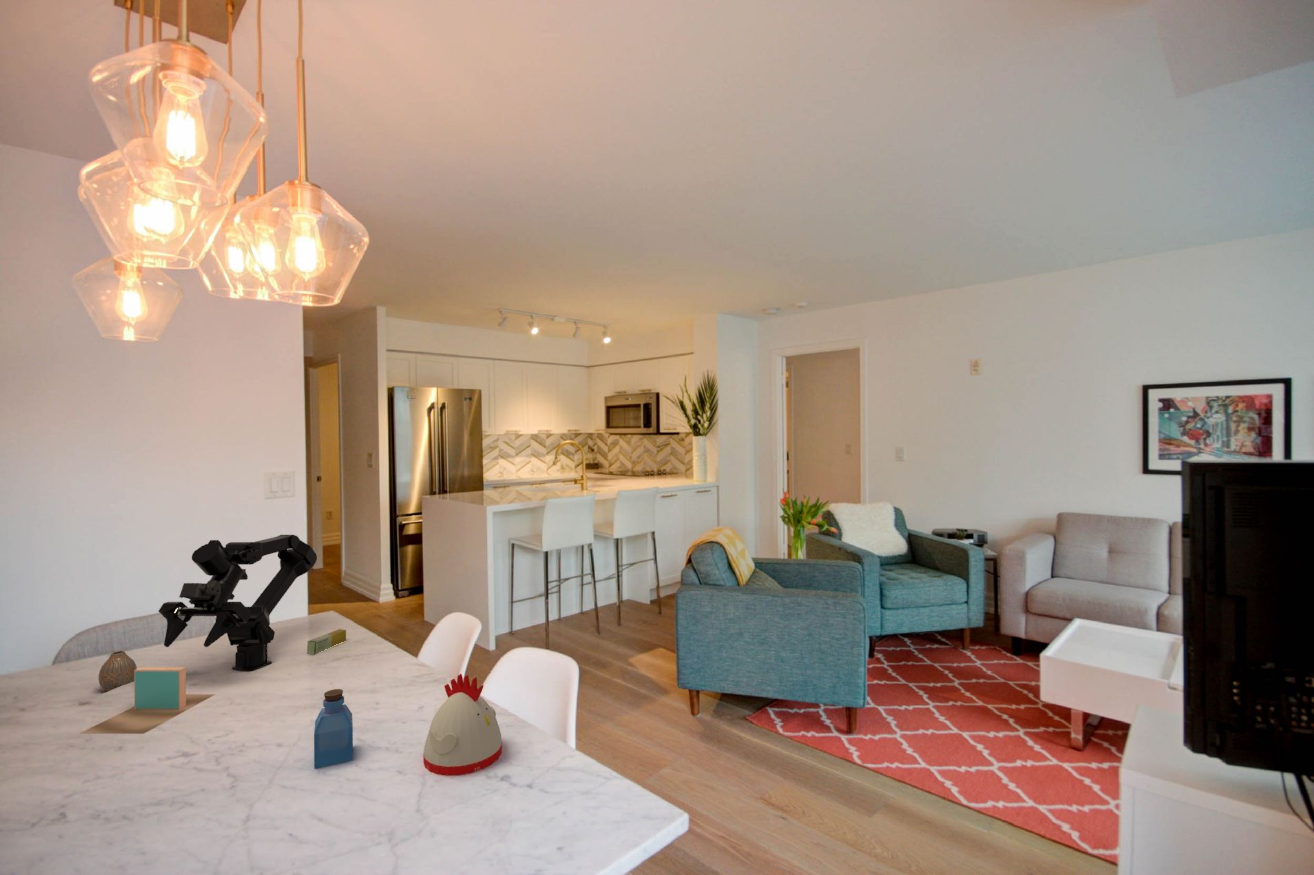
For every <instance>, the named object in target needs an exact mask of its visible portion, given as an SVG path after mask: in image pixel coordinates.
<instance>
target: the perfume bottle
mask: <svg viewBox="0 0 1314 875" xmlns="http://www.w3.org/2000/svg"><path fill="white" fill-rule="evenodd" d="M343 693H344V690H343V689H341V688H334V689H330V690H327V691H325V692H324V693H323V697H324V699H323V702H322V706H323V708H321V709H320V711H319V713H318V714H317V717H316V719H315V722H314V729H313V731H314V732H313V756H314V757H313V760H314V761H313V769H314V770H317V769H321V768H326V767H330V766H335V765H340V764H345V763H349V762H354V761H353V760H354V742H353V740H354V738H353V736H354V735H353V734H354V731H353V730H354V729H353V728H354V727H353V726H354V725H353V724H354V723H353V713H352V712H351V710H350V708H349V707H348V706H347V704H346V703H345V696H344V695H343ZM344 703H345V704H344Z"/></svg>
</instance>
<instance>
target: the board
mask: <svg viewBox="0 0 1314 875" xmlns="http://www.w3.org/2000/svg"><path fill="white" fill-rule="evenodd" d="M215 695H216V694H214V693H213V694H211V693H210V694H209V693H208V694H207V693H206V694H205V693H202V694H201V693H200V694H199V693H197V694H196V693H194V694H193V693H192V694H190V693H186V707H184V708H182V709H181V710H134V706H133V707H131V708H128V709H126V710H124V711H123V712H121V713H118V714H116V715H114V716H112V717H110V718H108V719H106V720H104V721H102V722H99V723H98V724H96V725H93V726H91V727H89V728H88V729H86V730H83V731H81V732H80V734H105V735H106V734H107V735H108V734H112V735H113V734H116V735H117V734H119V735H121V734H122V735H123V734H124V735H125V734H131V735H132V734H133V735H134V734H135V735H136V734H138V735H140V734H141V735H142V734H147V733H148V732H149V731H151V730H153V729H155V728H157V727H159V726H160V725H162V724H165V723H166V722H168V721H169V720H172V719H173V718H175V717H178V716H179V715H181V714H183V713H184V712H186V711H188V710H189V709H191V708H194V707H195V706H197V705H199V704H201V703H202V702H204V701H206V700H207V699H210V698H212V697H213V696H215Z"/></svg>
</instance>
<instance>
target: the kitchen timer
mask: <svg viewBox="0 0 1314 875" xmlns="http://www.w3.org/2000/svg"><path fill="white" fill-rule="evenodd" d="M483 689H484V684H482V685H480V686H479V687H478V678H477V676H475V677H474V678H472V680H471V682H470V677H469V674H467V675H465V676H464V677H463V675H462V673H460V674H458V675H457V677H456V679H455V678H453V679H451V680H450V684H449V683H447V684H444V690H445V692H446V695H447V699H446V700H445V701H444V702H443V703H441V705H440V706H439V708H438V710H437V711H436V713H435V714H434V716H433V718H432V720H431V723H430V726H429V730H428V733H427V735H426V738H425V743H424V746H423V747H424V748H423V755H422V757H423V766H424V768H425V769H426V770H427V771H428V772H430V773H431V774H434V775H437V776H438V775H439V776H445V777H447V776H448V777H449V776H450V777H451V776H462V775H463V776H464V775H468V774H473V773H475V772H478V771H482V770H484V769H485V768H489V767H490V766H491V765H493V764H494V763H495V762H496V761H498V760H499V758H500V757H501V755H502V751H503V742H502V741H503V740H502V732H501V729H500V726H499V724H498V720H497V718H496V715H497V713H496V709H495V708H494V707H493V706H491V705H489V703H488V702H487V701H486V700H485V698H483V697H482V696H481V694H482V692H483Z"/></svg>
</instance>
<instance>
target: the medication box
mask: <svg viewBox="0 0 1314 875" xmlns="http://www.w3.org/2000/svg"><path fill="white" fill-rule="evenodd" d="M346 640H347V629H343V628H342V629H341V628H338V629H335V630H333V631H331V632H327V633H325V634H323V635H320V636H318V637H315V638H312V639H310V640H307V648H306V650H307V651H306V654H310V655H309V656H316V655H317V654H316V653H318V654H320V653H319V652H321V651H323V652H325V651H326V650H325V649H328V648H330V647H332V646H334V645H336V644H339V643H341V642H344V641H346ZM346 642H347V641H346ZM344 643H345V642H344ZM330 649H331V648H330ZM324 650H325V651H324ZM328 650H329V649H328ZM321 653H322V652H321ZM315 654H316V655H315Z"/></svg>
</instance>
